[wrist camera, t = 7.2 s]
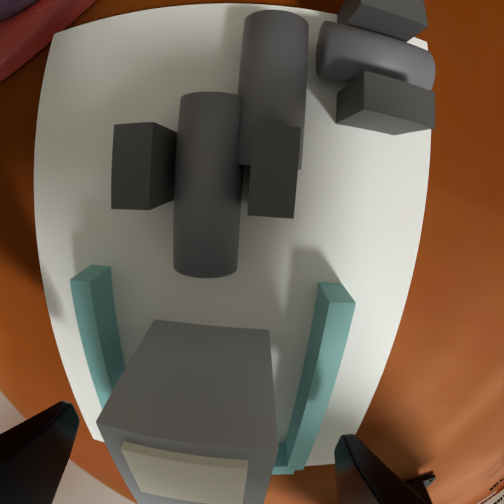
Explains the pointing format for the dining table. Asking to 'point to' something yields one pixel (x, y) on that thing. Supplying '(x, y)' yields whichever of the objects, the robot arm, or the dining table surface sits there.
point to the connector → (195, 416)
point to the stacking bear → (32, 28)
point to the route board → (270, 250)
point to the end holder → (313, 374)
